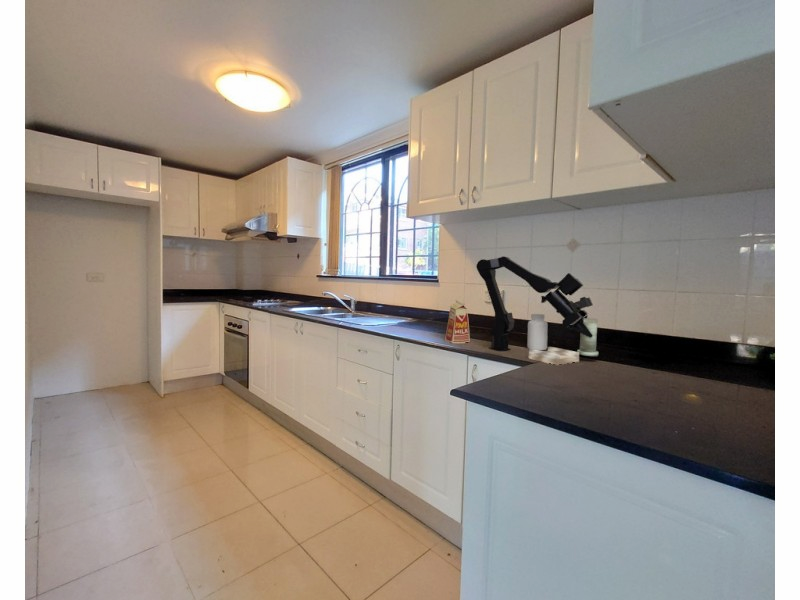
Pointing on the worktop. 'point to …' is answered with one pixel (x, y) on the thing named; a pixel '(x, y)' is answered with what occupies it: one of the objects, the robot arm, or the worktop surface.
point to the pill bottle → (537, 332)
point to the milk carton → (458, 324)
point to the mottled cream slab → (554, 356)
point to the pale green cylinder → (589, 339)
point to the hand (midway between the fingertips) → (592, 335)
